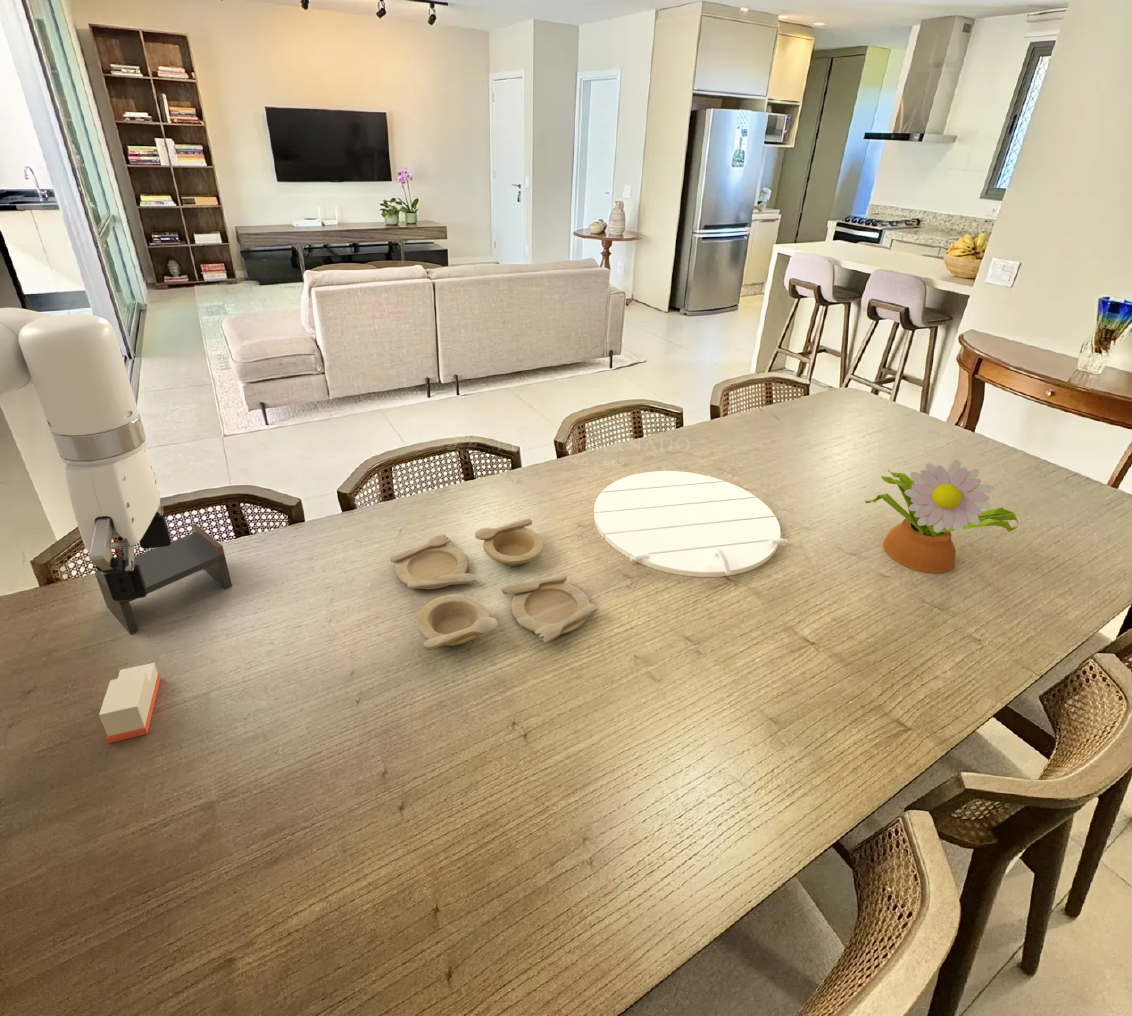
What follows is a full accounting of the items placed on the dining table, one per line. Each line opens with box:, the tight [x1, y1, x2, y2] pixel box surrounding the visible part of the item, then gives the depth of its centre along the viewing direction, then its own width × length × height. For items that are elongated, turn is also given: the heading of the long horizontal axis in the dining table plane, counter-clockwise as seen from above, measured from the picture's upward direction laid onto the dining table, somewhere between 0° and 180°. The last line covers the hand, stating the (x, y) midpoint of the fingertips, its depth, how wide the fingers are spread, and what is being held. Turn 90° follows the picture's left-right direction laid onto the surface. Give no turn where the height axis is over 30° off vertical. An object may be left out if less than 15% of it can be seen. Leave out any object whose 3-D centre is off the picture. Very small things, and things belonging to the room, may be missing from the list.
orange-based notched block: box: [98, 662, 162, 744], centre depth 86 cm, size 10×4×5 cm, turn 21°
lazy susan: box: [593, 470, 789, 578], centre depth 135 cm, size 40×39×3 cm
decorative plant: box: [864, 459, 1020, 575], centre depth 123 cm, size 27×24×25 cm
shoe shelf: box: [94, 523, 233, 636], centre depth 106 cm, size 16×10×9 cm, turn 141°
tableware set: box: [389, 518, 598, 651], centre depth 112 cm, size 35×29×4 cm
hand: (144, 570), depth 73 cm, fingers open, 9 cm apart
